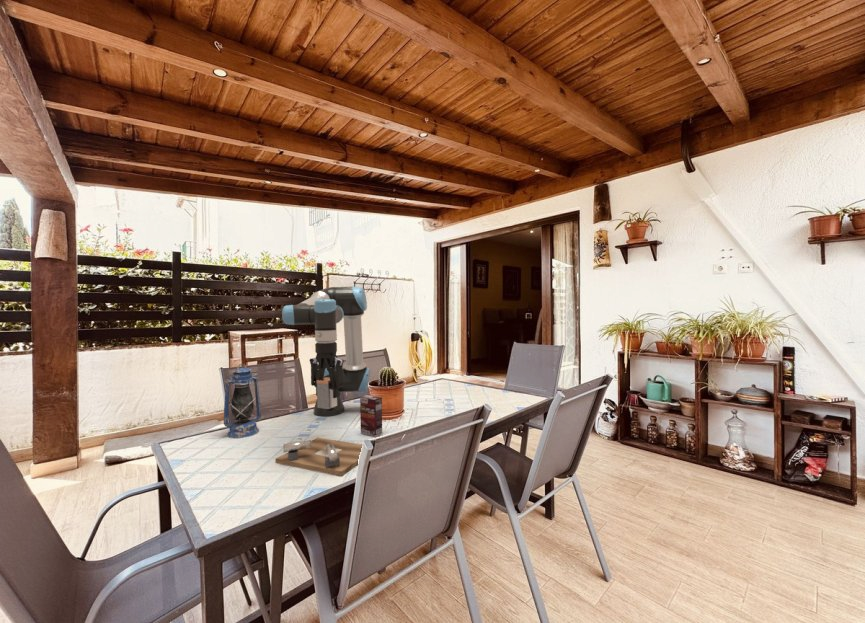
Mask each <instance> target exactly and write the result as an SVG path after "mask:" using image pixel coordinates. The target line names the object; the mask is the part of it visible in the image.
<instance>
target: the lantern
mask: <svg viewBox="0 0 865 623" xmlns="http://www.w3.org/2000/svg"><path fill="white" fill-rule="evenodd" d="M241 366H244V368H240V367H241ZM251 371H252V368H248V367H247V366H246V364H244V363H241V364H238V365H237V368H235V369H233V370H231V373H232V375H231V378H230V379H229V378H226V379H225V380H224V383H225V389H224V390H225V391H224V406H223V407H224V408H223V425H224V426H225V427H226V428H229V430H228V432H227V437H228V438H229V439H230V438H231V439H243V438H249V437H253V436H254V435H257V434H258V433H259V432H260V429H259V428H258V425H257V421H258V420H259V419H261V416H262V410H261V400H260V389H259V381H258V378H259V375H258V374H256V373H255V374H254V375H252V373H251ZM250 384H254V392H255V394H254V395H255V397H253V394H252V391H251V387H250ZM230 386H234V389H233V393H232V397H231V399H230ZM254 401H255V404H254ZM229 405H230V406H231V414H232V416H234V419H233V420H235V422H231V423H230V422H229ZM255 405H256V416H255V417H253V418H252V414H253V412H254V409H255Z"/></svg>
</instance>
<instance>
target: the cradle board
mask: <svg viewBox="0 0 865 623" xmlns="http://www.w3.org/2000/svg"><path fill="white" fill-rule="evenodd" d="M330 443H331V444H333V445H334V447H335V450H336V453H337V455H338V456H339V458H340V466H339V467H333V468H327V469H326V467H325V457H328V454H327V451H326V446H327V445H328V444H330ZM362 445H363V444H359V443H354V442H349V441H341V440H335V439H329V438H323V437H316V438H314V439H312V440H311V448H310V449H303V450H298V460H293V461H289V459H288V452H285V453H283V454H281V455H280V456H278V457H276V458H275V463H276V464H280V465H285V466H290V467H295V468H300V469H304V470H309V471H314V472H319V473H324V474H330V475H335V476H339V477H343V476H344V475H345V474H347V473H348V472H350V471H351V470H353V469H354V468H355V467H357V466H359V464H358V459H359V455H360V452H361V448H362Z"/></svg>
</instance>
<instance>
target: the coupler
mask: <svg viewBox="0 0 865 623" xmlns="http://www.w3.org/2000/svg"><path fill="white" fill-rule="evenodd" d="M331 388H332V386H331V381H330V378H328V377H325V378H322V379H319V380H317V396H316V400H317V408H324V409H330V408H331V407H330V389H331ZM337 405H338V403H337Z"/></svg>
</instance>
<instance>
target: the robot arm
mask: <svg viewBox="0 0 865 623" xmlns="http://www.w3.org/2000/svg"><path fill="white" fill-rule="evenodd" d="M367 309H368V302H367V295H366V292H365V290H364V288H363V287H361V286H330V287H326V288H323V289H320V290H318V291H317V290H316V291H315V292H313V294H311V296H310V297H309V298H307V299H305V300H304V301H301V302H300V303H298V304H289V305H284V307H283V308H282V310H281V318H282V321H283V323H284V324H285V325H292V326H295V325H296V326H297V325H314V342H315V343H314V346H315V347H314V348H315V349H314V352H315V353H316V355H315V357H313V358H312V357H311V358H309V363H310V385H311V386H312V387H313V386H314V387H315V396H316V397H317V380H319V379H322V378H325V377H328V378H330V381H331V386H332V388H331V389H330V407H331V408H330V409H324V408H317V399H315V400H316V401H315V404H314V408H313V415H314V416H317V417H331V416H337V415H340V414H342V413H344V412H345V405H344V402H343V400H342V397H341V392H342V393H343V392H345V393H346V392H365V391H366V390H368V386H369V382H370V374H371V369H370V367H367V363H365V362H364V353H363V352H364V351H363V349H364V348H363V333H362V332H363V331H362V329H363V328H362V327H363V326H362V316H364V314H365V311H367ZM342 320H343V330H344V331H343V333H344V334H343V335H344V349H345V360H344V359H340V358H338V356H337V352H338V343H337V340H338V338H337V337H338V334H337V324H339V323H340V322H341V321H342ZM344 361H345V362H344ZM337 403H338V405H337Z"/></svg>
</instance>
